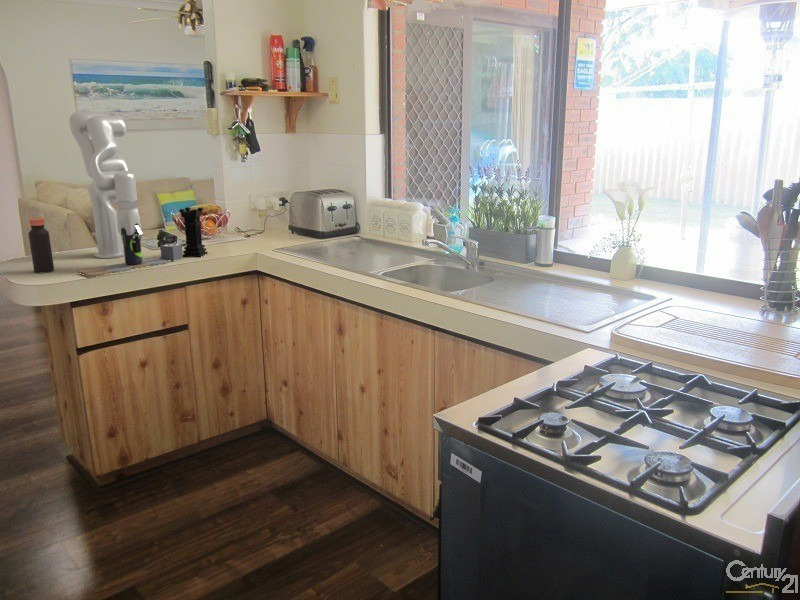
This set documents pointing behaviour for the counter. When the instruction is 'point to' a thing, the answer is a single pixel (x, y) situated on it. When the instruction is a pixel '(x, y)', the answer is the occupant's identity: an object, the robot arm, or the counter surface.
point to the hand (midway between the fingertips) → (132, 250)
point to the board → (121, 267)
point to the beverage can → (130, 249)
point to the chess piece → (193, 232)
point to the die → (171, 251)
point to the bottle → (40, 246)
